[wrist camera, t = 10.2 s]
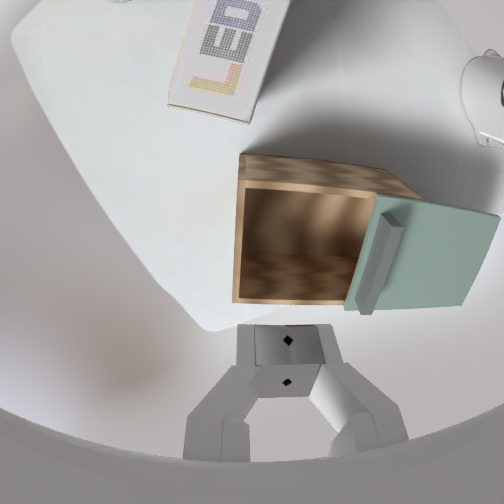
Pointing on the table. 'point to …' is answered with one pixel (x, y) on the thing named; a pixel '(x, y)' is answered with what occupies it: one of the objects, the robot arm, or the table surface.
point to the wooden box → (302, 227)
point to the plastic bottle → (118, 1)
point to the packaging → (226, 57)
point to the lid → (419, 255)
